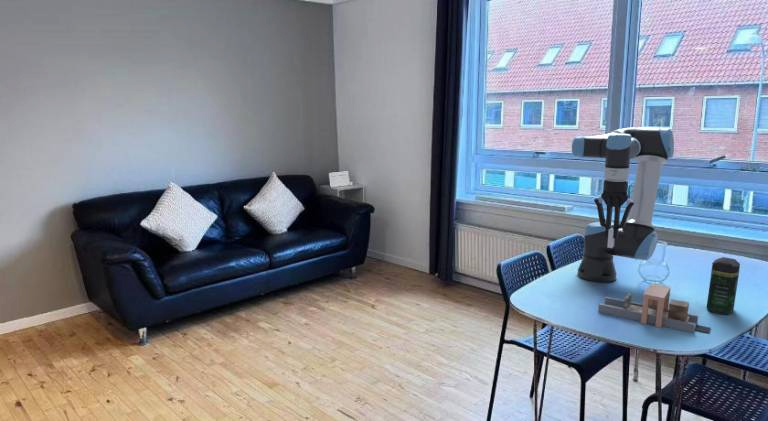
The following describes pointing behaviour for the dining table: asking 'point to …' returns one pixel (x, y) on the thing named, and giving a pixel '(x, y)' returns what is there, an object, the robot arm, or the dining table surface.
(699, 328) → the dark grey flat block
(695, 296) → the dining table surface
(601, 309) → the rail
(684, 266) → the dining table surface
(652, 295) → the tunnel
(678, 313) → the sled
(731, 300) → the coffee jar
